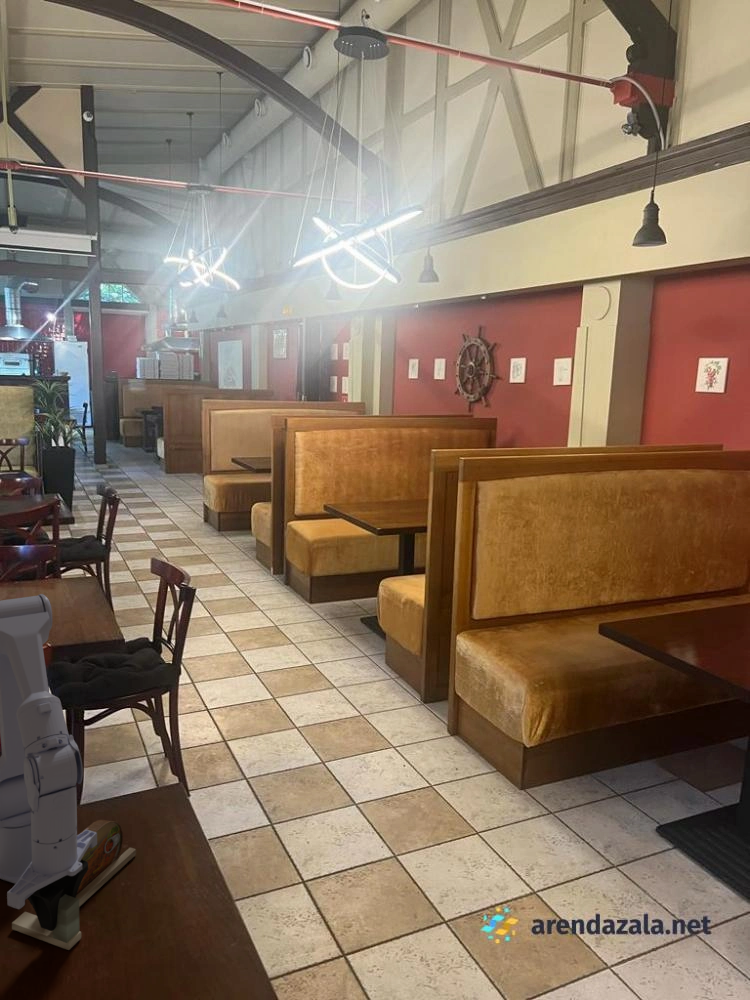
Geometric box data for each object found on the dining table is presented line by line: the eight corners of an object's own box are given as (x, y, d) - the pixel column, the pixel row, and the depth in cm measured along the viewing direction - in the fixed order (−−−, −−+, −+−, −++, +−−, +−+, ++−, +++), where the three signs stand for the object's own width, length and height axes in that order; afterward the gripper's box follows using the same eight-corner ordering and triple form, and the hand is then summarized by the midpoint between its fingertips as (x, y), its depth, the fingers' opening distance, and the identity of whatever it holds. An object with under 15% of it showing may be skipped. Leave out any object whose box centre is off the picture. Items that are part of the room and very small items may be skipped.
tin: (56, 921, 104) (55, 868, 103) (39, 914, 105) (37, 862, 104) (124, 858, 118) (124, 811, 117) (109, 853, 119) (108, 807, 118)
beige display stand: (12, 929, 102) (10, 891, 101) (108, 846, 121) (108, 813, 120) (68, 950, 99) (68, 911, 98) (158, 861, 118) (159, 828, 117)
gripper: (36, 871, 90) (39, 967, 92) (114, 809, 104) (114, 894, 106) (-7, 857, 92) (-4, 950, 95) (74, 798, 106) (75, 881, 108)
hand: (56, 920), depth 100 cm, fingers closed on beige display stand, 2 cm apart
